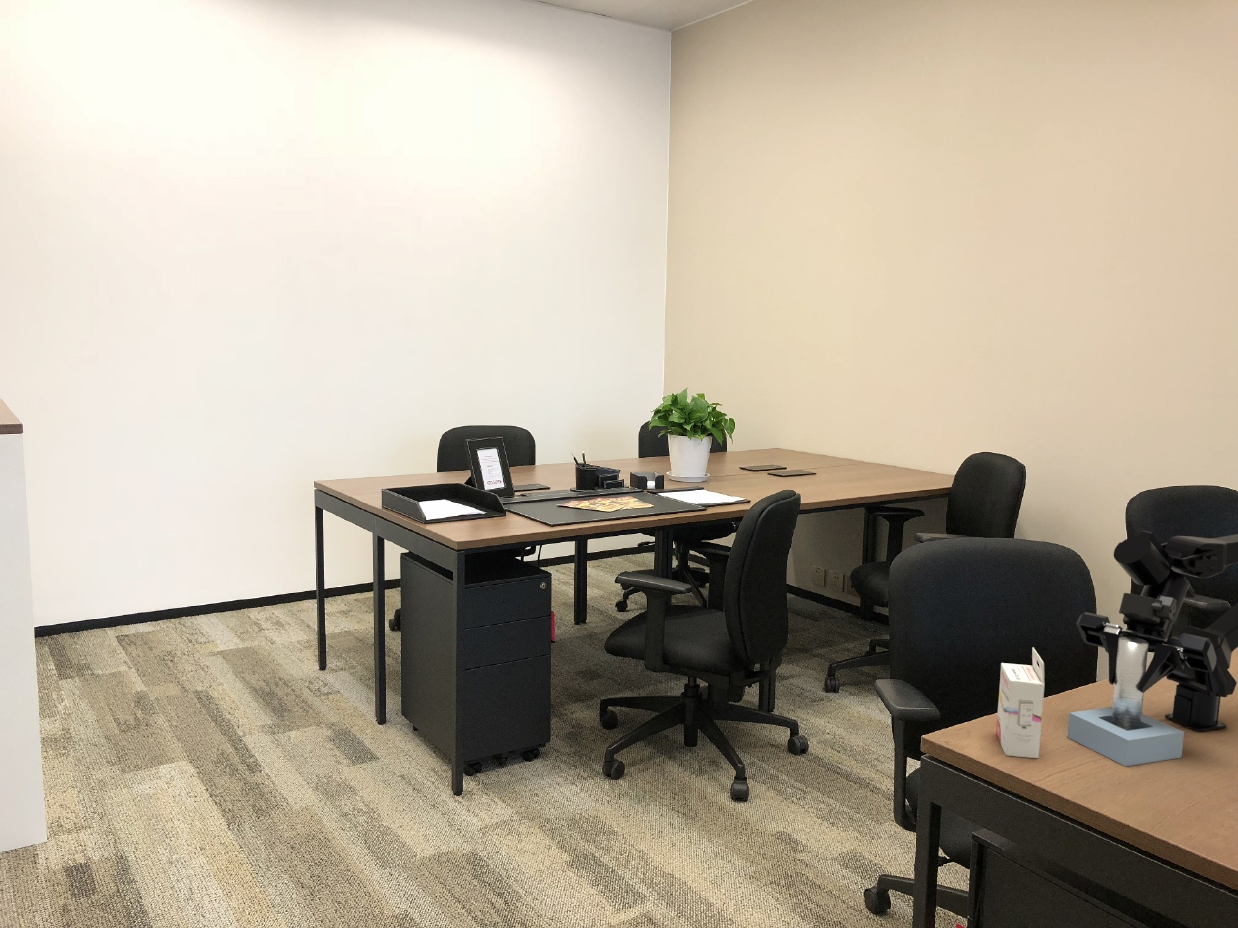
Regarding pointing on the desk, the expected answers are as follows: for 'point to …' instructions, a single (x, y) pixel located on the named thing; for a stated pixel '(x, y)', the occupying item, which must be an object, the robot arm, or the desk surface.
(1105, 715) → the bracket block
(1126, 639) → the silver tall cylinder
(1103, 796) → the desk surface
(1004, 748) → the ink cartridge box
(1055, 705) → the desk surface
